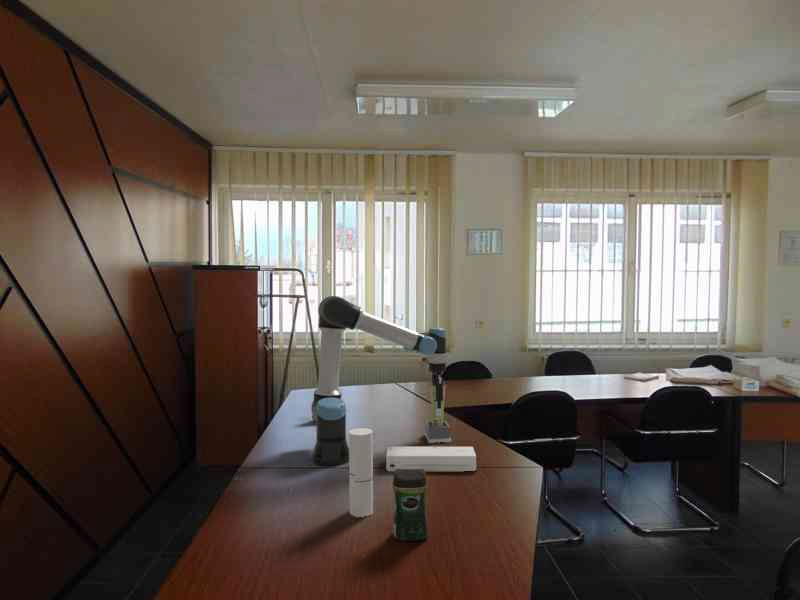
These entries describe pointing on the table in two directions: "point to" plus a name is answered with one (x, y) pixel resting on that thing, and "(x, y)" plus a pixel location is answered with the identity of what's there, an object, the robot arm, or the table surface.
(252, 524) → the table surface
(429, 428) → the grey and white box
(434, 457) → the laminator
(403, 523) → the coffee jar
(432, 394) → the tube
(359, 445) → the cylindrical container
